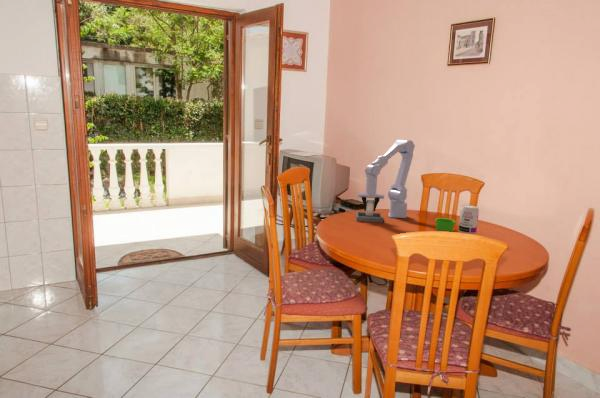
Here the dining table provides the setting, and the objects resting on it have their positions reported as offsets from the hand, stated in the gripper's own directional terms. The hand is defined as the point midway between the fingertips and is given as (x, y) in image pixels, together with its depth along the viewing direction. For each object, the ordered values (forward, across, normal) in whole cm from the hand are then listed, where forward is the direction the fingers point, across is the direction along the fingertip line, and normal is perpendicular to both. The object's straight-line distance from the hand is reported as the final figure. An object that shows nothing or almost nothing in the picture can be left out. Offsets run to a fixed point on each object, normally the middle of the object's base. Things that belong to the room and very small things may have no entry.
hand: (369, 210), depth 235 cm
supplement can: (+5, +46, -24) cm, 52 cm away
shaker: (+2, 0, 0) cm, 2 cm away
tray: (+5, 0, 0) cm, 5 cm away
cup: (+5, +31, -39) cm, 50 cm away
